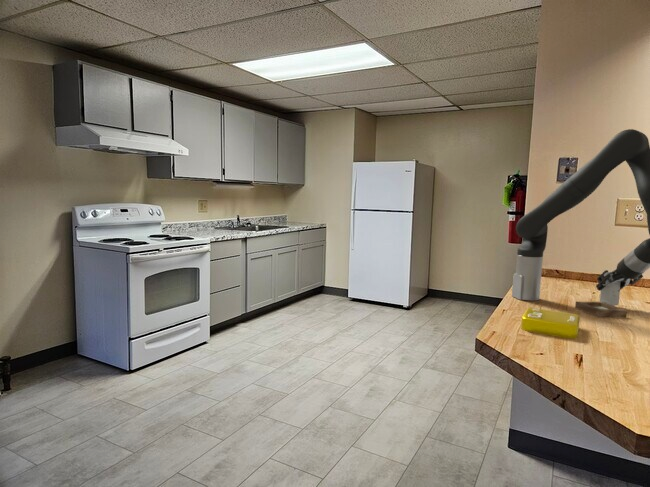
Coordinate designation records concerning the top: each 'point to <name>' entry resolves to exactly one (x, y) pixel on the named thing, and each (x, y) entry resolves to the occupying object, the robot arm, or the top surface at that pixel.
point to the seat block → (601, 309)
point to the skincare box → (611, 293)
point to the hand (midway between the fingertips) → (607, 288)
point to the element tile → (551, 323)
